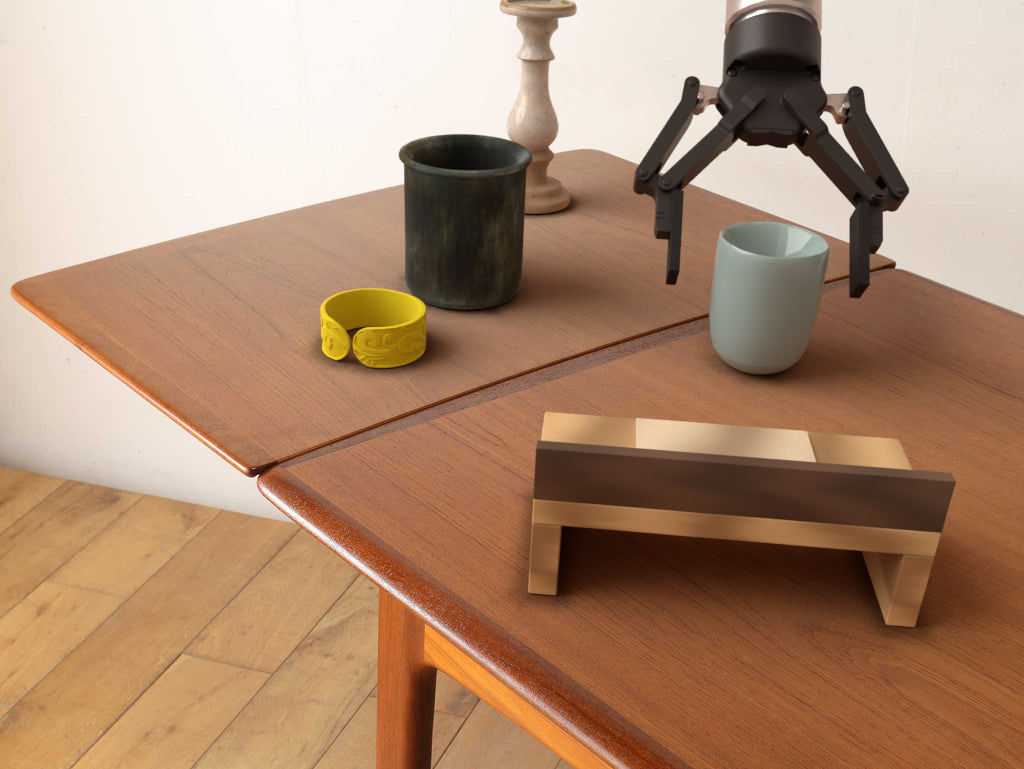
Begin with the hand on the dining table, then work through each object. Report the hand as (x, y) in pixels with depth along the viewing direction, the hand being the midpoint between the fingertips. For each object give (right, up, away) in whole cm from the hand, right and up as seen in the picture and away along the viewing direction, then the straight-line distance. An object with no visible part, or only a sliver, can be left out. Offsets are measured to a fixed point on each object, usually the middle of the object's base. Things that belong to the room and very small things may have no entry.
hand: (765, 285), depth 77 cm
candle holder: (-17, +12, +35) cm, 41 cm away
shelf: (-7, -17, -19) cm, 26 cm away
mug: (-23, +2, +15) cm, 28 cm away
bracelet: (-29, -5, +3) cm, 30 cm away
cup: (0, -6, +3) cm, 7 cm away
